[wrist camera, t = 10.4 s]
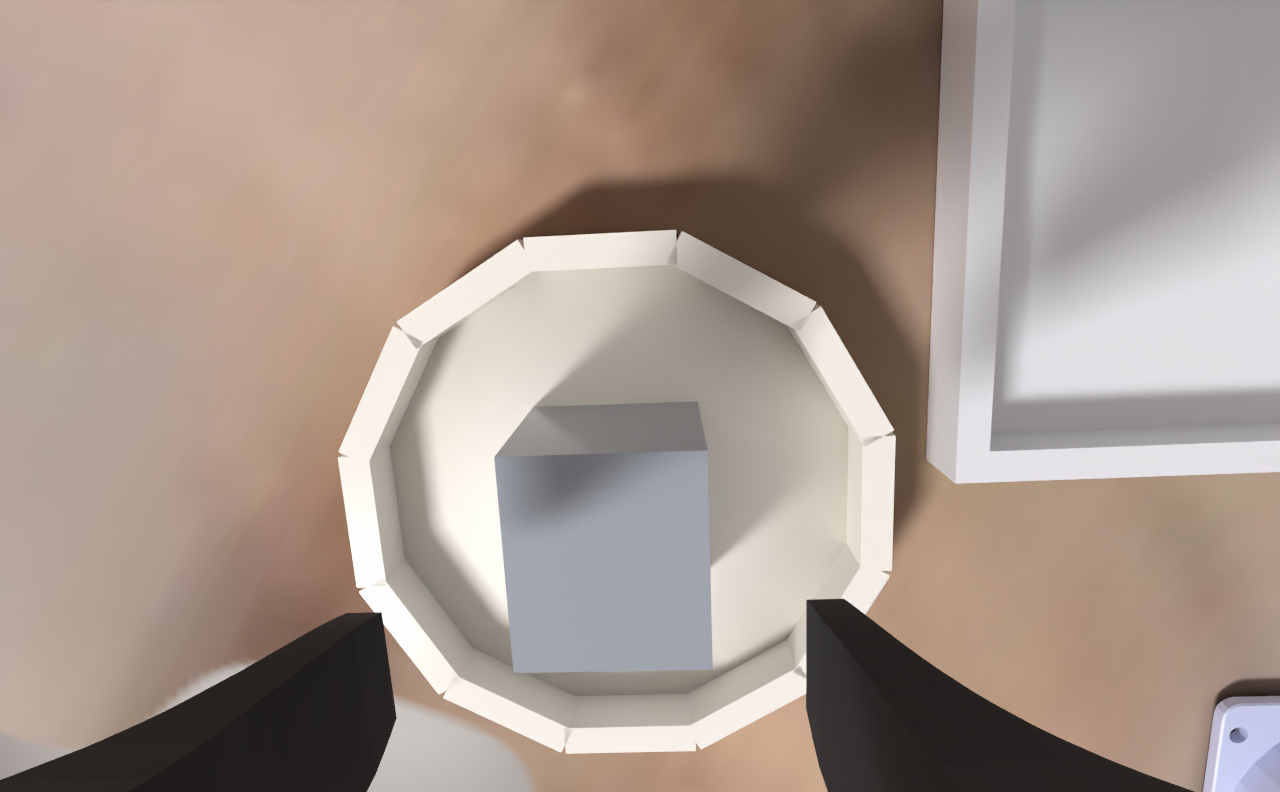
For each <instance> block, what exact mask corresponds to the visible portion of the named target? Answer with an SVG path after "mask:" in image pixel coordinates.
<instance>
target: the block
mask: <svg viewBox="0 0 1280 792" xmlns="http://www.w3.org/2000/svg"><path fill="white" fill-rule="evenodd" d="M494 461H495V472H496V483H497V495H498V506H499V517H500V528H501V539H502V550H503V562H504V573H505V584H506V595H507V606H508V617H509V629H510V640H511V651H512V662H513V673H552V672H606V671H660V670H713V661H712V616H711V570H710V525H709V480H708V449H707V444H706V439H705V435H704V430H703V425H702V421H701V416H700V411H699V407H698V402H667V403H638V404H608V405H579V406H549V407H533V408H532V409H531V410H530V412H529V413H528V414H527V416H526V417H525V418H524V419H523V421H522V422H521V423H520V425H519V426H518V427H517V428H516V430H515V431H514V432H513V433H512V435H511V436H510V437H509V439H508V440H507V441H506V442H505V444H504V445H503V446H502V448H501V449H500V450H499V451H498V453H497V454H496V455H495V457H494Z"/></svg>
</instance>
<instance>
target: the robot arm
mask: <svg viewBox="0 0 1280 792" xmlns="http://www.w3.org/2000/svg"><path fill="white" fill-rule="evenodd" d="M806 709H807V714H808V718H809V723H810V728H811V732H812V737H813V741H814V746H815V750H816V754H817V759H818V763H819V767H820V770H821V773H822V775H823V778H824V781H825V784H826V787H827V790H828V792H1194V791H1191V790H1188V789H1185V788H1183V787H1180V786H1177V785H1174V784H1171V783H1169V782H1166V781H1163V780H1160V779H1157V778H1155V777H1152V776H1149V775H1146V774H1143V773H1141V772H1138V771H1136V770H1133V769H1131V768H1128V767H1126V766H1123V765H1121V764H1118V763H1116V762H1113V761H1111V760H1108V759H1106V758H1103V757H1101V756H1099V755H1097V754H1094V753H1092V752H1090V751H1088V750H1085V749H1083V748H1081V747H1079V746H1076V745H1074V744H1072V743H1070V742H1067V741H1065V740H1063V739H1061V738H1058V737H1056V736H1054V735H1052V734H1050V733H1048V732H1046V731H1044V730H1042V729H1040V728H1038V727H1036V726H1034V725H1032V724H1030V723H1028V722H1026V721H1024V720H1023V719H1021V718H1019V717H1017V716H1015V715H1013V714H1011V713H1010V712H1008V711H1006V710H1004V709H1002V708H1000V707H999V706H997V705H995V704H993V703H991V702H990V701H988V700H986V699H984V698H983V697H981V696H979V695H978V694H976V693H974V692H973V691H971V690H970V689H968V688H966V687H965V686H963V685H962V684H960V683H959V682H957V681H956V680H954V679H953V678H951V677H949V676H948V675H946V674H945V673H943V672H942V671H940V670H939V669H937V668H936V667H934V666H933V665H932V664H930V663H929V662H927V661H926V660H924V659H923V658H922V657H920V656H919V655H917V654H916V653H915V652H913V651H912V650H911V649H909V648H908V647H907V646H905V645H904V644H902V643H901V642H900V641H898V640H897V639H896V638H895V637H893V636H892V635H891V634H889V633H888V632H887V631H885V630H884V629H883V628H882V627H880V626H879V625H878V624H876V623H875V622H874V621H873V620H871V619H870V618H869V617H867V616H866V615H865V614H864V613H862V612H861V611H860V610H859V609H857V608H856V607H855V606H853V605H852V604H851V603H849V602H848V601H846V600H845V599H813V600H806ZM395 720H396V712H395V705H394V697H393V690H392V683H391V676H390V669H389V662H388V654H387V647H386V640H385V633H384V626H383V619H382V612H374V613H346V614H344V615H342V616H339V617H337V618H335V619H333V620H331V621H329V622H327V623H325V624H323V625H321V626H319V627H317V628H315V629H314V630H312V631H310V632H308V633H306V634H305V635H303V636H301V637H299V638H298V639H296V640H294V641H292V642H291V643H289V644H287V645H285V646H284V647H282V648H280V649H279V650H277V651H275V652H273V653H272V654H270V655H268V656H266V657H265V658H263V659H261V660H259V661H258V662H256V663H254V664H252V665H251V666H249V667H247V668H245V669H244V670H242V671H240V672H238V673H237V674H235V675H233V676H231V677H229V678H227V679H225V680H224V681H222V682H220V683H218V684H216V685H214V686H212V687H210V688H208V689H207V690H205V691H203V692H201V693H199V694H197V695H195V696H194V697H192V698H190V699H188V700H186V701H184V702H182V703H180V704H179V705H177V706H175V707H173V708H171V709H169V710H167V711H165V712H163V713H161V714H159V715H156V716H154V717H152V718H150V719H148V720H146V721H144V722H142V723H140V724H137V725H135V726H133V727H131V728H129V729H126V730H124V731H122V732H120V733H117V734H115V735H113V736H111V737H108V738H106V739H104V740H102V741H99V742H97V743H95V744H92V745H90V746H88V747H85V748H83V749H80V750H78V751H75V752H72V753H70V754H67V755H65V756H62V757H60V758H57V759H55V760H52V761H49V762H46V763H44V764H42V765H39V766H36V767H34V768H31V769H28V770H26V771H23V772H21V773H18V774H15V775H13V776H10V777H7V778H5V779H2V780H0V792H367V790H368V788H369V786H370V784H371V782H372V780H373V778H374V776H375V774H376V772H377V769H378V767H379V764H380V761H381V759H382V756H383V754H384V751H385V749H386V746H387V743H388V740H389V738H390V735H391V732H392V729H393V726H394V723H395ZM1235 728H1236V730H1235V731H1233V732H1232V733H1231V731H1232V730H1234V729H1235ZM1203 792H1280V696H1251V697H1231V698H1226V699H1224V700H1222V701H1221V702H1220V703H1219V704H1218V705H1217V706H1216V709H1215V711H1214V716H1213V723H1212V731H1211V738H1210V745H1209V752H1208V759H1207V766H1206V773H1205V781H1204V788H1203Z"/></svg>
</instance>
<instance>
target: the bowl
mask: <svg viewBox="0 0 1280 792" xmlns="http://www.w3.org/2000/svg"><path fill="white" fill-rule="evenodd" d="M397 323H398V324H399V325H395V326H393V327H392V330H391V332H390V334H389V337H388V339H387V341H386V344H385V346H384V348H383V350H382V353H381V355H380V357H379V360H378V362H377V364H376V367H375V369H374V371H373V373H372V376H371V378H370V380H369V383H368V385H367V387H366V390H365V392H364V394H363V396H362V399H361V401H360V403H359V406H358V408H357V410H356V413H355V415H354V417H353V420H352V422H351V424H350V426H349V429H348V431H347V433H346V436H345V438H344V440H343V443H342V445H341V447H340V449H339V453H341V454H342V455H341V456H339V457H338V463H339V469H340V476H341V483H342V490H343V497H344V503H345V510H346V517H347V524H348V531H349V538H350V544H351V551H352V558H353V565H354V572H355V578H356V585H357V587H363V588H362V589H361V590H360V592H359V593H360V594H361V596H362V597H363V598H364V599H365V601H366V602H367V603H368V605H369V606H370V607H371V608H372V610H373V611H374V612H382V619H383V624H384V625H385V626H386V628H387V629H388V630H389V631H390V633H391V634H392V635H393V637H394V638H395V639H396V640H397V642H398V643H399V644H400V646H401V647H402V648H403V649H404V651H405V652H406V653H407V655H408V656H409V657H410V658H411V660H412V661H413V662H414V664H415V665H416V666H417V667H418V669H419V670H420V671H421V672H422V674H423V675H424V676H425V678H426V679H427V680H428V681H429V683H430V684H431V685H432V687H433V688H434V689H435V690H436V692H437V693H438V694H441V693H442V692H444V691H446V693H445V695H444V697H443V698H444V699H446V700H449V701H451V702H453V703H455V704H457V705H459V706H461V707H464V708H466V709H468V710H470V711H472V712H474V713H477V714H479V715H481V716H483V717H485V718H487V719H490V720H492V721H494V722H496V723H498V724H500V725H502V726H505V727H507V728H509V729H511V730H513V731H515V732H518V733H520V734H522V735H524V736H526V737H528V738H531V739H533V740H535V741H537V742H539V743H541V744H543V745H546V746H548V747H550V748H552V749H554V750H556V751H559V752H561V751H562V750H563V748H564V746H565V748H566V754H571V753H618V752H665V751H696V743H697V745H698V746H699V748H700V749H703V748H705V747H707V746H708V745H710V744H712V743H714V742H716V741H718V740H720V739H722V738H724V737H725V736H727V735H729V734H731V733H733V732H735V731H737V730H739V729H740V728H742V727H744V726H746V725H748V724H750V723H752V722H754V721H755V720H757V719H759V718H761V717H763V716H765V715H767V714H769V713H771V712H772V711H774V710H776V709H778V708H780V707H782V706H784V705H786V704H787V703H789V702H791V701H793V700H795V699H797V698H799V697H801V696H802V695H804V694H806V600H813V599H845V600H846V601H848V602H849V603H851V604H852V605H853V606H855V607H856V608H857V609H859V610H860V611H861V612H862V613H864V614H866V612H867V611H868V609H869V608H870V606H871V605H872V603H873V602H874V600H875V598H876V597H877V595H878V594H879V592H880V591H881V589H882V588H883V586H884V585H885V583H886V582H887V580H888V578H889V577H890V575H889V573H888V572H887V571H892V549H893V513H894V478H895V443H896V435H894V434H893V433H892V431H894V429H893V427H892V425H891V424H890V422H889V420H888V419H887V417H886V415H885V414H884V412H883V410H882V408H881V407H880V405H879V403H878V402H877V400H876V398H875V397H874V395H873V393H872V392H871V390H870V388H869V387H868V385H867V383H866V381H865V380H864V378H863V376H862V375H861V373H860V371H859V370H858V368H857V366H856V365H855V363H854V361H853V359H852V358H851V356H850V354H849V353H848V351H847V349H846V348H845V346H844V344H843V343H842V341H841V339H840V337H839V336H838V334H837V332H836V331H835V329H834V327H833V326H832V324H831V322H830V321H829V319H828V317H827V316H826V314H825V312H824V310H823V309H822V307H821V306H819V305H817V304H816V302H815V301H814V300H812V299H810V298H808V297H806V296H804V295H802V294H800V293H798V292H797V291H795V290H793V289H791V288H789V287H787V286H785V285H783V284H781V283H780V282H778V281H776V280H774V279H772V278H770V277H768V276H766V275H764V274H763V273H761V272H759V271H757V270H755V269H753V268H751V267H749V266H747V265H746V264H744V263H742V262H740V261H738V260H736V259H734V258H732V257H730V256H728V255H727V254H725V253H723V252H721V251H719V250H717V249H715V248H713V247H711V246H710V245H708V244H706V243H704V242H702V241H700V240H698V239H696V238H694V237H693V236H691V235H689V234H687V233H685V232H683V231H681V232H680V233H679V235H678V237H677V238H676V230H661V231H641V232H622V233H602V234H583V235H563V236H544V237H525V238H523V240H516V241H515V242H513V243H512V244H510V245H509V246H507V247H506V248H504V249H503V250H501V251H500V252H498V253H497V254H495V255H494V256H493V257H491V258H490V259H488V260H487V261H485V262H484V263H482V264H481V265H479V266H478V267H476V268H475V269H473V270H472V271H470V272H469V273H468V274H466V275H465V276H463V277H462V278H460V279H459V280H457V281H456V282H454V283H453V284H451V285H450V286H448V287H447V288H446V289H444V290H443V291H441V292H440V293H438V294H437V295H435V296H434V297H432V298H431V299H429V300H428V301H426V302H425V303H424V304H422V305H421V306H419V307H418V308H416V309H415V310H413V311H412V312H410V313H409V314H407V315H406V316H404V317H403V318H402V319H400V320H399V321H397ZM667 402H698V407H699V411H700V416H701V421H702V425H703V430H704V435H705V439H706V444H707V449H708V480H709V525H710V570H711V616H712V661H713V670H660V671H606V672H552V673H513V662H512V651H511V640H510V629H509V617H508V606H507V595H506V584H505V573H504V562H503V550H502V539H501V528H500V517H499V506H498V495H497V483H496V472H495V461H494V457H495V455H496V454H497V453H498V451H499V450H500V449H501V448H502V446H503V445H504V444H505V442H506V441H507V440H508V439H509V437H510V436H511V435H512V433H513V432H514V431H515V430H516V428H517V427H518V426H519V425H520V423H521V422H522V421H523V419H524V418H525V417H526V416H527V414H528V413H529V412H530V410H531V409H532V408H533V407H549V406H579V405H608V404H638V403H667ZM695 742H696V743H695Z"/></svg>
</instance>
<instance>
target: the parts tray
mask: <svg viewBox="0 0 1280 792" xmlns="http://www.w3.org/2000/svg"><path fill="white" fill-rule="evenodd" d="M926 460H928V461H929V462H930V463H931V464H932V465H934V466H935V467H936V468H937V469H938V470H940V471H941V472H942V473H943V474H944V475H946V476H947V477H948V478H949V479H950V480H952V481H953V482H954V483H955V484H956V483H984V482H1011V481H1039V480H1067V479H1094V478H1122V477H1150V476H1177V475H1205V474H1233V473H1260V472H1280V0H944V3H943V29H942V55H941V81H940V108H939V134H938V160H937V186H936V212H935V238H934V264H933V291H932V317H931V343H930V369H929V395H928V421H927V448H926Z"/></svg>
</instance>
